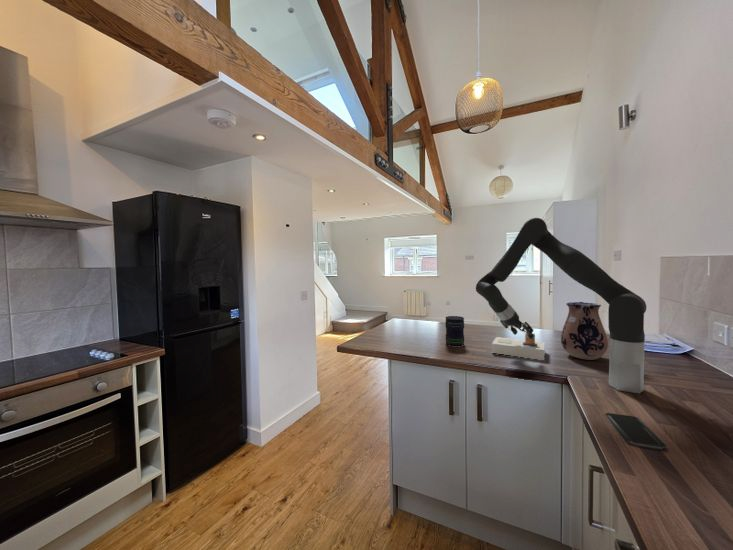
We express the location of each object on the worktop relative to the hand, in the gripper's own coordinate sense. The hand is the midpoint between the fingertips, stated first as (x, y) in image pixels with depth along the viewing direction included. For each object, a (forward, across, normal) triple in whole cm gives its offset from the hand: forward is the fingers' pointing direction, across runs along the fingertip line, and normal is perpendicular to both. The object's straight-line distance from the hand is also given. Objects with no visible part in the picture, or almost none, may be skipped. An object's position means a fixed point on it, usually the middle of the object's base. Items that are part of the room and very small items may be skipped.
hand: (523, 335), depth 140 cm
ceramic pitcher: (+24, -12, -10) cm, 28 cm away
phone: (-12, -56, +27) cm, 63 cm away
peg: (+8, 0, +3) cm, 9 cm away
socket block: (+8, +4, +6) cm, 11 cm away
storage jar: (-5, +29, +19) cm, 35 cm away
